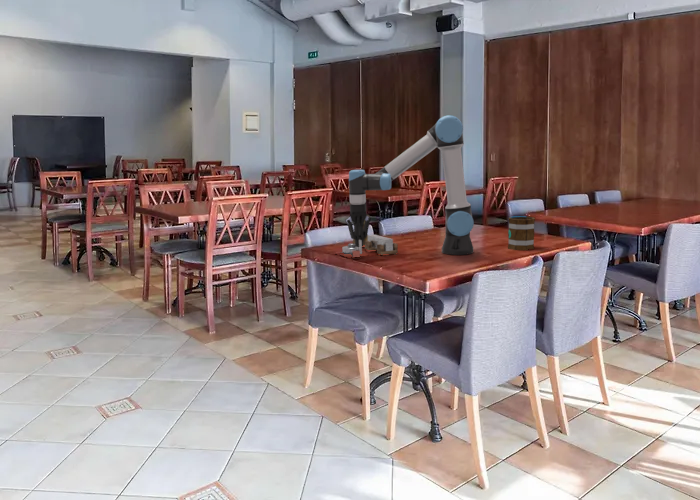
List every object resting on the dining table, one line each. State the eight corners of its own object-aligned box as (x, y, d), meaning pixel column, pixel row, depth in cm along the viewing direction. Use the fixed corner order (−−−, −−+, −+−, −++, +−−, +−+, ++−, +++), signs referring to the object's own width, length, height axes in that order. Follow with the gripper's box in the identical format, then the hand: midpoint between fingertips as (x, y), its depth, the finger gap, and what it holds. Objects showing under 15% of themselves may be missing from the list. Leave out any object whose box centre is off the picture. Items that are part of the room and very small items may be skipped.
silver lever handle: (341, 252, 315) (340, 242, 314) (359, 251, 316) (359, 242, 315) (346, 258, 298) (346, 248, 298) (366, 257, 300) (366, 247, 299)
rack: (397, 254, 311) (397, 243, 311) (381, 256, 307) (381, 245, 306) (380, 249, 325) (380, 239, 324) (364, 251, 321) (364, 241, 320)
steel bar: (392, 250, 310) (392, 239, 309) (385, 251, 308) (385, 239, 307) (374, 245, 325) (374, 234, 324) (367, 246, 323) (367, 235, 322)
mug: (539, 249, 316) (540, 219, 313) (512, 251, 314) (513, 220, 311) (523, 243, 335) (524, 214, 332) (498, 244, 333) (499, 215, 330)
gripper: (365, 201, 307) (367, 250, 311) (341, 203, 301) (343, 253, 305) (373, 203, 300) (375, 253, 304) (349, 205, 294) (351, 256, 299)
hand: (359, 253), depth 305 cm, fingers closed
